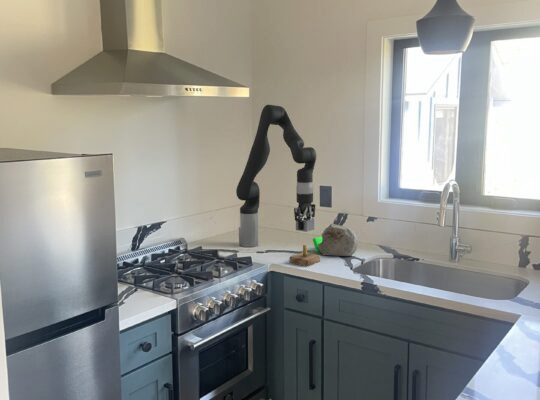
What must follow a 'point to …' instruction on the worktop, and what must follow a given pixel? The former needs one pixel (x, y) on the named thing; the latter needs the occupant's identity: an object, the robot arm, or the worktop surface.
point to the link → (306, 224)
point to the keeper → (304, 258)
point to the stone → (338, 241)
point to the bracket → (317, 242)
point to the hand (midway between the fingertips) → (304, 228)
